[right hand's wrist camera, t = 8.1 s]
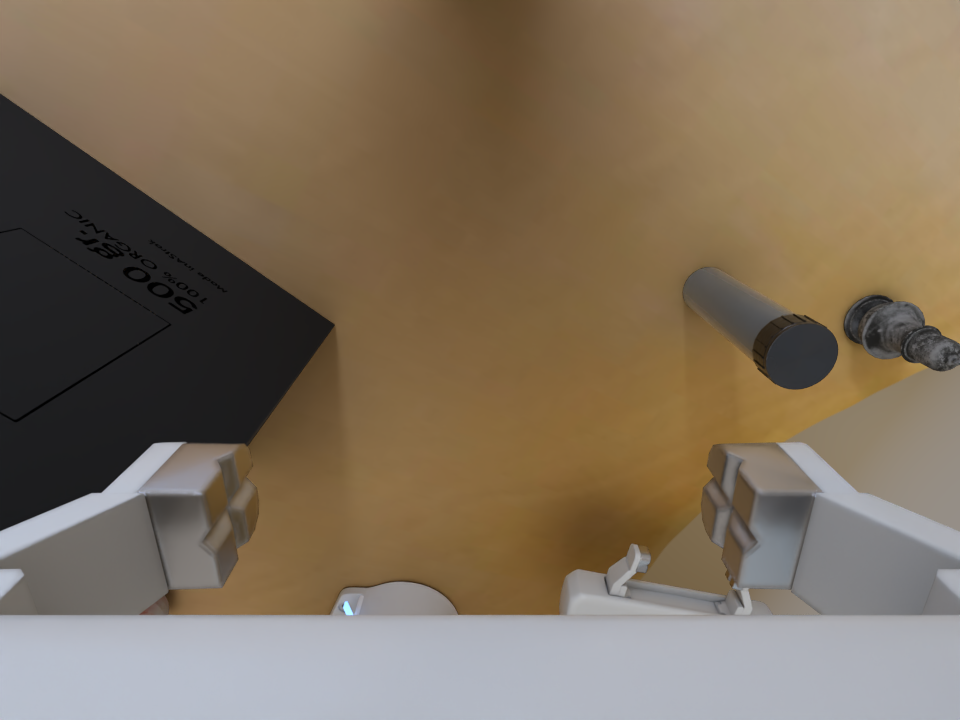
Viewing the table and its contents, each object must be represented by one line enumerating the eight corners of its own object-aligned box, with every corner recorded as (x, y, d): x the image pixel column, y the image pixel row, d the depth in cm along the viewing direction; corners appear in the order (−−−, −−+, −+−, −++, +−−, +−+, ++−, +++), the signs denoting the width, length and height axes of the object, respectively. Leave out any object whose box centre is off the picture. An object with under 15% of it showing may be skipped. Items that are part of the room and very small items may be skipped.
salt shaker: (912, 314, 59) (1013, 356, 48) (866, 357, 61) (953, 408, 50) (874, 280, 58) (968, 316, 47) (828, 325, 59) (909, 370, 48)
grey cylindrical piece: (721, 315, 59) (817, 389, 42) (677, 308, 59) (756, 380, 42) (735, 270, 58) (842, 329, 41) (690, 263, 57) (778, 319, 40)
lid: (806, 382, 44) (823, 395, 42) (741, 373, 44) (754, 385, 42) (832, 318, 42) (850, 328, 40) (764, 308, 42) (779, 317, 40)
